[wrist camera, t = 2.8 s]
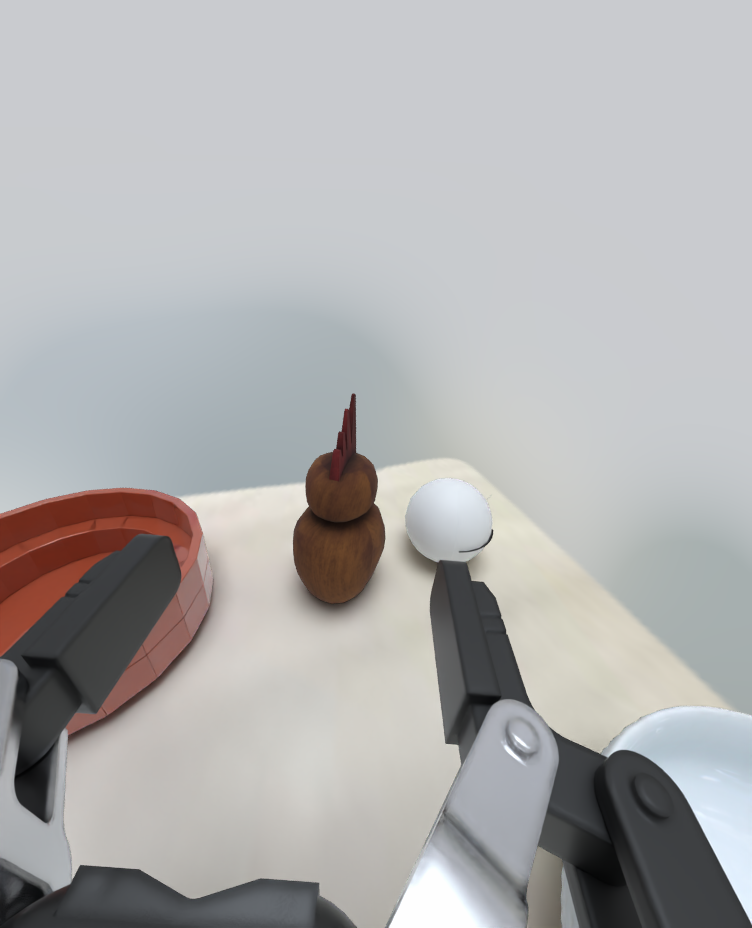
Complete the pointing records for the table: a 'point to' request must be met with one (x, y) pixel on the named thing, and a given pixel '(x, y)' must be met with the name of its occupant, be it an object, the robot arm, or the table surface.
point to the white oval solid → (449, 520)
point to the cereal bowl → (700, 782)
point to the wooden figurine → (339, 521)
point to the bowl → (81, 546)
